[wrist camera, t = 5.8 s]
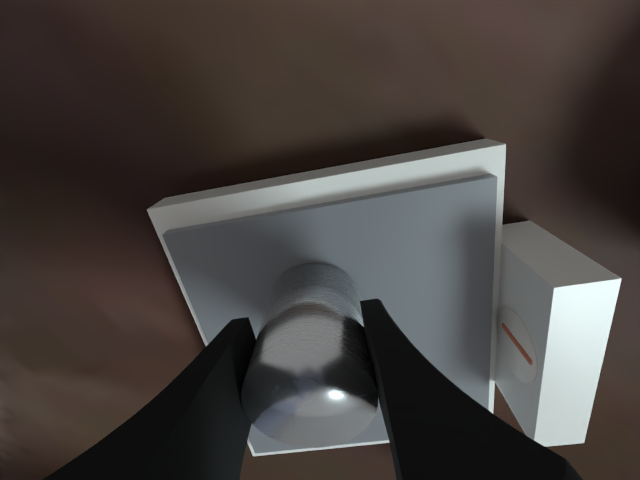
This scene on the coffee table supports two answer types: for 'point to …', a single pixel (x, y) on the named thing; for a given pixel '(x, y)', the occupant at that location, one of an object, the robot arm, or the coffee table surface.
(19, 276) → the coffee table surface
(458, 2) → the coffee table surface
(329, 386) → the cylinder
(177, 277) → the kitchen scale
